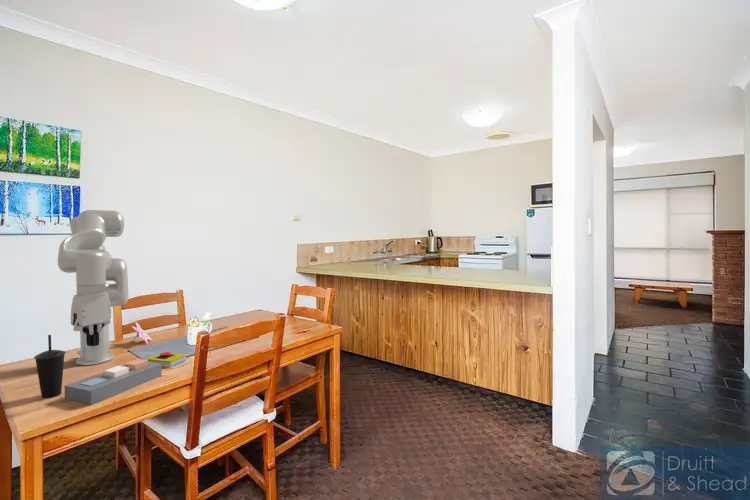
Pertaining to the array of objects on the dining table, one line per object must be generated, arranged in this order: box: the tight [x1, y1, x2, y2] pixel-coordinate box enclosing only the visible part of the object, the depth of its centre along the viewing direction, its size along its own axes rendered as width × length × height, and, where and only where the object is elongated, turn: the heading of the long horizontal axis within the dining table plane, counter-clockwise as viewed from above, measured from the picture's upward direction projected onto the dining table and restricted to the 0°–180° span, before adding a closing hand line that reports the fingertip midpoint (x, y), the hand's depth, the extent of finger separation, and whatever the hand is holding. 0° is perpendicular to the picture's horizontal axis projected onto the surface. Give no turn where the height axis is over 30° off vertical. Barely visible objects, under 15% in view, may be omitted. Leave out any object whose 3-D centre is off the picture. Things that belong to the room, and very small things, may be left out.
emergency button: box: [147, 351, 191, 369], centre depth 151 cm, size 9×4×15 cm
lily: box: [130, 321, 153, 345], centre depth 178 cm, size 12×12×10 cm
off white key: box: [103, 365, 129, 378], centre depth 127 cm, size 5×5×3 cm
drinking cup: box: [33, 334, 67, 399], centre depth 120 cm, size 8×8×20 cm
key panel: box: [63, 362, 162, 406], centre depth 127 cm, size 12×25×4 cm, turn 162°
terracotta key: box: [124, 358, 148, 370], centre depth 134 cm, size 5×5×3 cm
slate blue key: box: [81, 378, 107, 387], centre depth 120 cm, size 5×5×3 cm
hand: (93, 345), depth 120 cm, fingers closed
